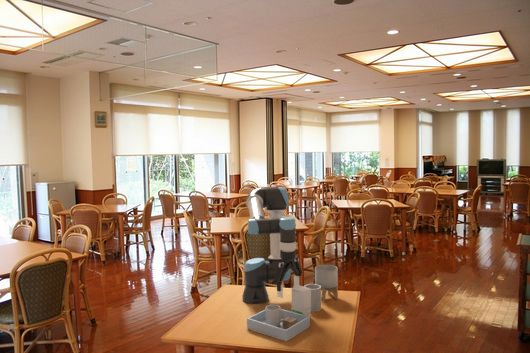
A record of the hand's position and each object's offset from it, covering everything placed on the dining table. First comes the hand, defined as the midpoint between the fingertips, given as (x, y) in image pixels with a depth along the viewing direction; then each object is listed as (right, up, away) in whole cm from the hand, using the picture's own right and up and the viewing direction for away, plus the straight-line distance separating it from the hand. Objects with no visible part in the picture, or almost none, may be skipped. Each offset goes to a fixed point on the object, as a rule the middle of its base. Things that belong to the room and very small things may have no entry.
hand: (288, 292), depth 208 cm
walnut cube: (+1, -17, -2) cm, 17 cm away
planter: (+24, -14, +42) cm, 51 cm away
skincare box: (+7, -17, +15) cm, 23 cm away
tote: (-5, -18, +3) cm, 18 cm away
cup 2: (+15, -16, +27) cm, 34 cm away
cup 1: (-6, -17, +4) cm, 18 cm away
